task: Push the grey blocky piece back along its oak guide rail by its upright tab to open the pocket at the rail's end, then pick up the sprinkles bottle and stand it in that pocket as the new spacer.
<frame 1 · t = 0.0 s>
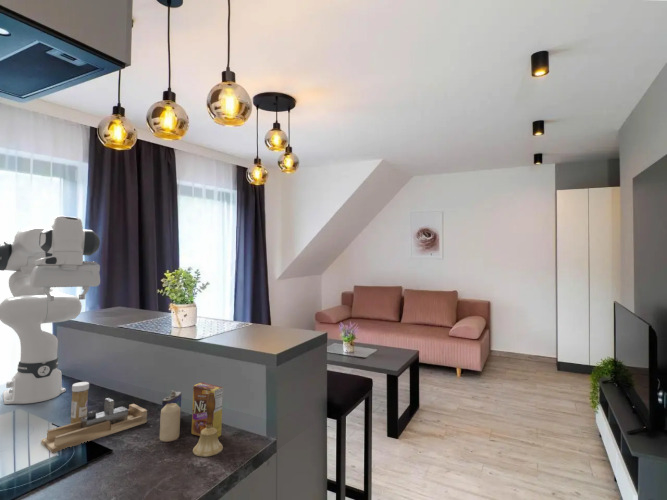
hand: (66, 300, 130), 39 cm above the counter, tool pointing down, fingers open, 8 cm apart
candy box: (205, 435, 115), on the counter
flask: (171, 423, 123), on the counter
sprinkles bottle: (78, 426, 119), on the counter
guide rail: (97, 432, 115), on the counter
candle: (169, 438, 113), on the counter
grey blocky piece: (105, 413, 117), point 5 cm above the counter, slide at 6.0 cm
hand bell: (207, 450, 107), on the counter
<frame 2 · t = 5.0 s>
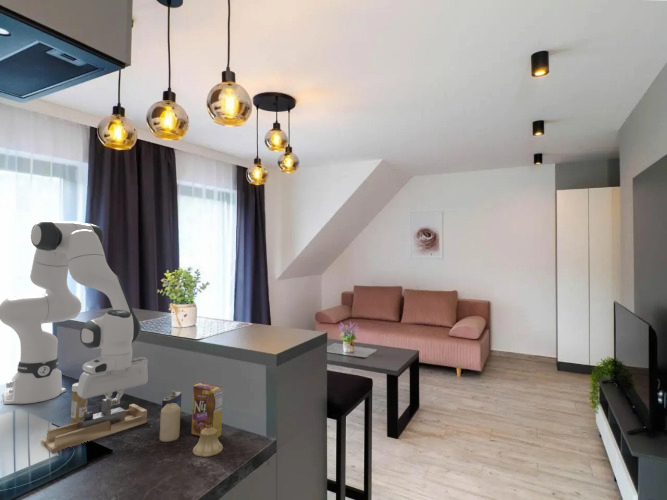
hand: (113, 404, 119), 7 cm above the counter, tool pointing down, fingers closed
grey blocky piece: (102, 414, 116), point 5 cm above the counter, slide at 5.2 cm, touching gripper
everything else where it was.
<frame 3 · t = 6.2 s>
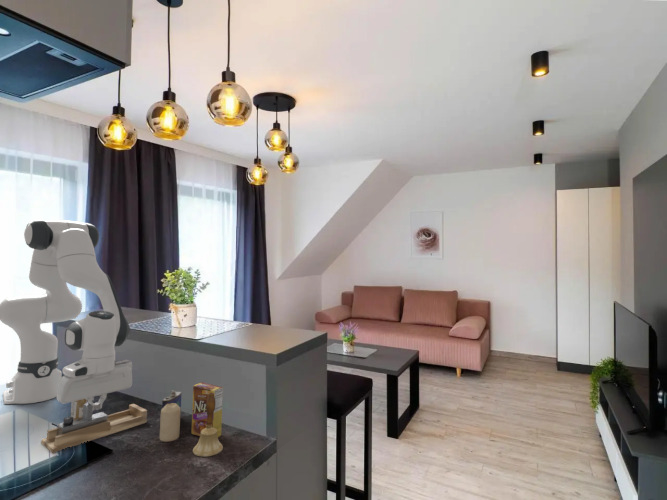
hand: (95, 409, 115), 7 cm above the counter, tool pointing down, fingers closed
grey blocky piece: (83, 419, 112), point 5 cm above the counter, slide at -0.1 cm, touching gripper
everything else where it was.
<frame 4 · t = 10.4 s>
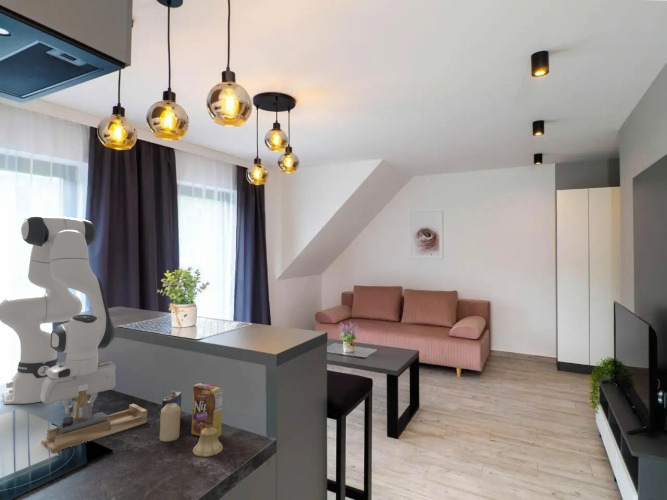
hand: (79, 409, 119), 5 cm above the counter, tool pointing down, fingers closed on sprinkles bottle, 4 cm apart
sprinkles bottle: (78, 426, 119), on the counter, touching gripper
grey blocky piece: (83, 419, 112), point 5 cm above the counter, slide at -0.2 cm
everything else where it was.
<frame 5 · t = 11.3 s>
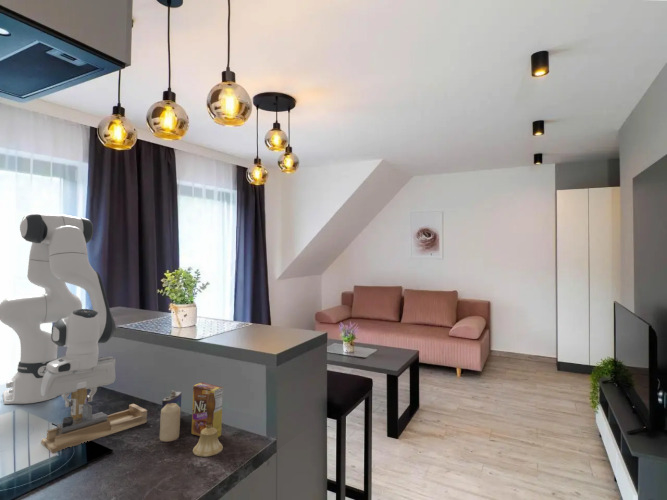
hand: (78, 403, 119), 7 cm above the counter, tool pointing down, fingers closed on sprinkles bottle, 4 cm apart
sprinkles bottle: (78, 423, 120), point 1 cm above the counter, touching gripper
everything else where it was.
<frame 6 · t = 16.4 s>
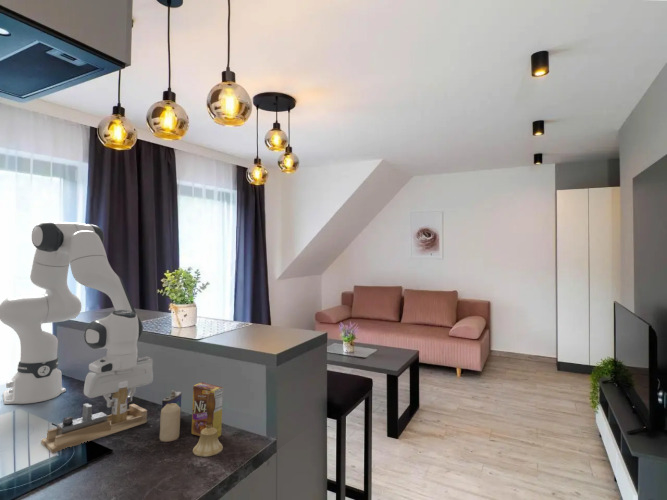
hand: (119, 404, 120), 7 cm above the counter, tool pointing down, fingers closed on sprinkles bottle, 4 cm apart
sprinkles bottle: (118, 422, 120), point 1 cm above the counter, touching gripper, guide rail
everything else where it was.
when the fingers open (7 cm above the counter, at t = 16.6 s): sprinkles bottle stays where it is, resting on guide rail.
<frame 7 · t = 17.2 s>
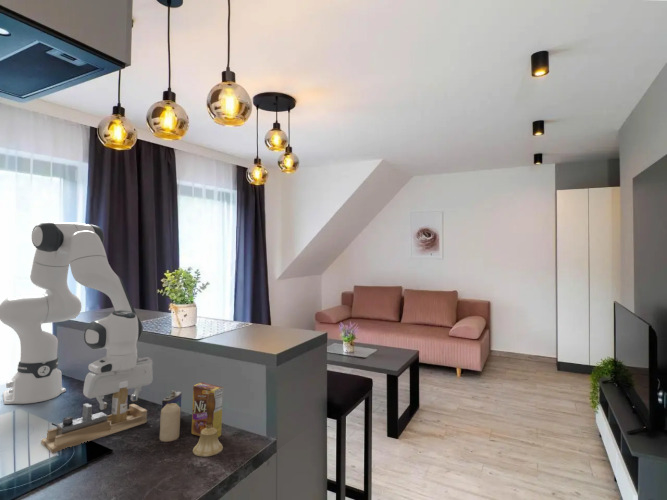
hand: (119, 404, 120), 7 cm above the counter, tool pointing down, fingers open, 8 cm apart
sprinkles bottle: (118, 422, 120), point 1 cm above the counter, touching guide rail
everything else where it was.
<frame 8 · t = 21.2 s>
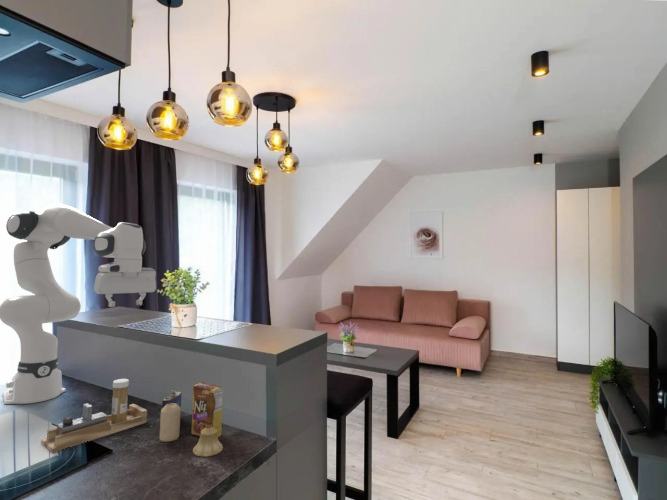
hand: (125, 305, 133), 37 cm above the counter, tool pointing down, fingers open, 8 cm apart
nothing on the counter moved.
at the end: grey blocky piece slide at -0.2 cm; sprinkles bottle inside the target area (0.2 cm from its centre), point 0.8 cm above the counter; sprinkles bottle tilted 0° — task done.
